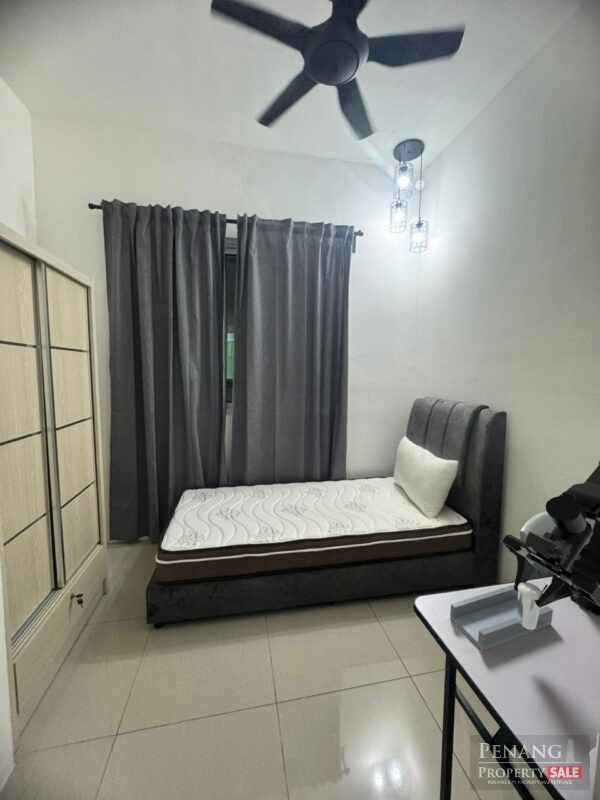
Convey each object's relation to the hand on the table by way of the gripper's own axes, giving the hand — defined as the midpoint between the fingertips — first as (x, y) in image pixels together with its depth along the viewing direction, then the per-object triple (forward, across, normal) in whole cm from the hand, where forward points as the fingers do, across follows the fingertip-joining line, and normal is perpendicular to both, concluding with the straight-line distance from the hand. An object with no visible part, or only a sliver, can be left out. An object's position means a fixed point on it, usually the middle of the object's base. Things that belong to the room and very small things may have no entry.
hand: (526, 598), depth 69 cm
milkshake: (+4, 0, +6) cm, 7 cm away
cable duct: (+7, -8, +12) cm, 16 cm away
